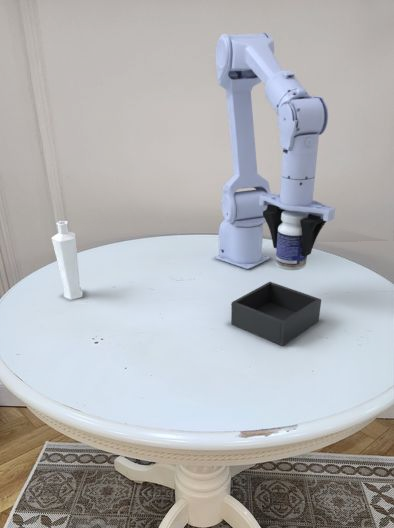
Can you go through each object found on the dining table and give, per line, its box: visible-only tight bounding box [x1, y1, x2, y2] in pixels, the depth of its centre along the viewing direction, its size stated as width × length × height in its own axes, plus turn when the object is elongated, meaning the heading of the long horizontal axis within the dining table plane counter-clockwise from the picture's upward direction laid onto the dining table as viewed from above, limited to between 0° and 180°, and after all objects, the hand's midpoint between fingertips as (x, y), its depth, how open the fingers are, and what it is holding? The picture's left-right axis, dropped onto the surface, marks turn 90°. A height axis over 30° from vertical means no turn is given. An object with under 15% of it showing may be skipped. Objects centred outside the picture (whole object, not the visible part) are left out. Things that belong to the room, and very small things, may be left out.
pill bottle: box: [275, 210, 308, 271], centre depth 97 cm, size 6×6×10 cm
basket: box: [230, 281, 322, 347], centre depth 94 cm, size 11×11×4 cm
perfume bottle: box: [51, 220, 84, 301], centre depth 103 cm, size 5×4×15 cm
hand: (292, 250), depth 98 cm, fingers closed on pill bottle, 6 cm apart
